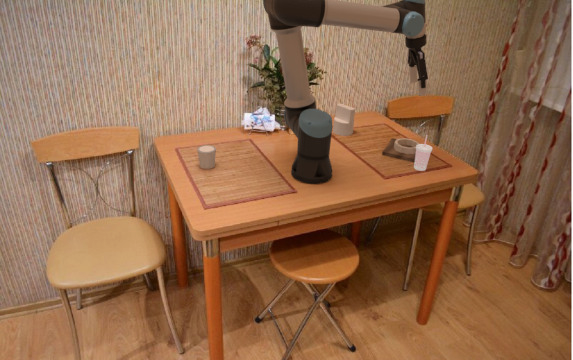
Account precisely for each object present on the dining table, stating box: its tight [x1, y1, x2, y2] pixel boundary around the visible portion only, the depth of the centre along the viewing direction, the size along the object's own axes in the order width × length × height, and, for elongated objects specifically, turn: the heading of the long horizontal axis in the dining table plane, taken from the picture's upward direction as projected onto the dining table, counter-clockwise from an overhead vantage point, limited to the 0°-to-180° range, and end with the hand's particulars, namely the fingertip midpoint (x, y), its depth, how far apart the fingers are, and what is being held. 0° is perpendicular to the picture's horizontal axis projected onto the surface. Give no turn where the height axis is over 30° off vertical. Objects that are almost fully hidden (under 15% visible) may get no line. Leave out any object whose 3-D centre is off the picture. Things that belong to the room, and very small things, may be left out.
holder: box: [382, 137, 416, 163], centre depth 186 cm, size 16×16×2 cm
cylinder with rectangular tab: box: [332, 103, 356, 137], centre depth 200 cm, size 9×9×12 cm
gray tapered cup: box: [196, 144, 217, 170], centre depth 166 cm, size 7×7×7 cm
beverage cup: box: [413, 134, 433, 172], centre depth 171 cm, size 6×6×14 cm
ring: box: [394, 137, 420, 154], centre depth 185 cm, size 10×10×2 cm
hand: (418, 88), depth 177 cm, fingers open, 13 cm apart
